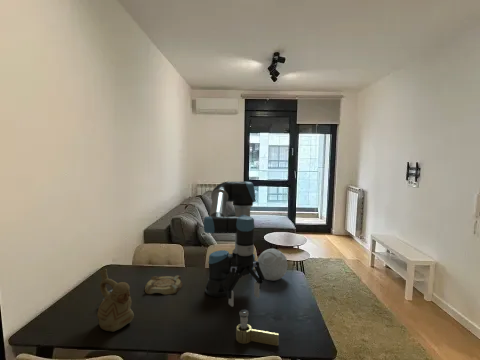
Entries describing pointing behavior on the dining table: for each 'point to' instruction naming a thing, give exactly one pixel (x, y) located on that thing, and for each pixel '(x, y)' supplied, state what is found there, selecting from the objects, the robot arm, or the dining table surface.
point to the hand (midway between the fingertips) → (244, 300)
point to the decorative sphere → (272, 264)
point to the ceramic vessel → (114, 304)
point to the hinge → (256, 336)
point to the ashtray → (163, 285)
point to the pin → (243, 319)
